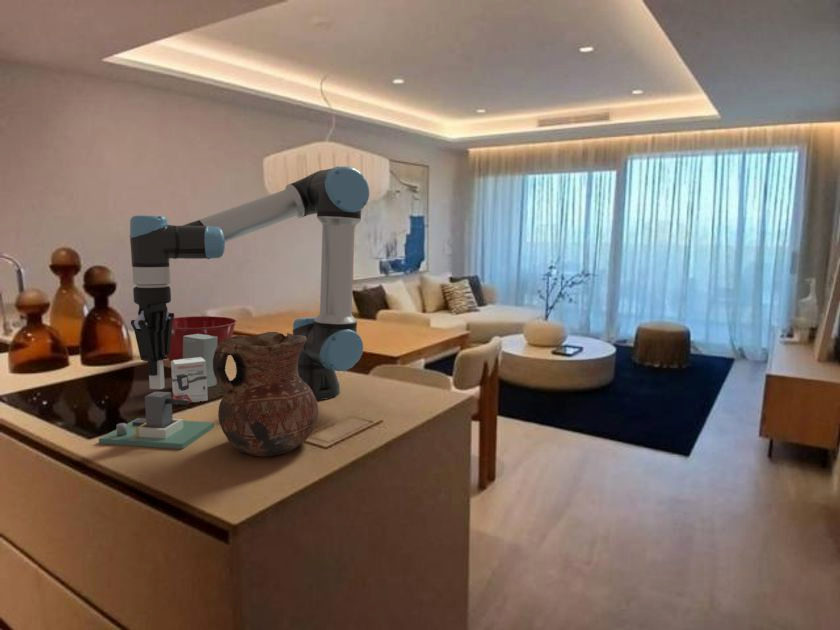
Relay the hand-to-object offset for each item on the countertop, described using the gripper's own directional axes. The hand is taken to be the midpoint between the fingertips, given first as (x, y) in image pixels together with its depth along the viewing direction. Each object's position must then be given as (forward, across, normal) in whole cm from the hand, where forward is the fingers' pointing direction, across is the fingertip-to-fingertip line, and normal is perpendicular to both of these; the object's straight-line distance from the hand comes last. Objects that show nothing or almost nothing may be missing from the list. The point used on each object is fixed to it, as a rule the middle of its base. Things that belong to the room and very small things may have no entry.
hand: (157, 388), depth 125 cm
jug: (+12, +1, +27) cm, 30 cm away
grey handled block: (+10, 0, +3) cm, 11 cm away
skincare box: (+12, -42, -13) cm, 46 cm away
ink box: (+12, -27, -8) cm, 31 cm away
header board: (+12, -1, -1) cm, 12 cm away
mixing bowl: (+12, -70, -30) cm, 77 cm away
